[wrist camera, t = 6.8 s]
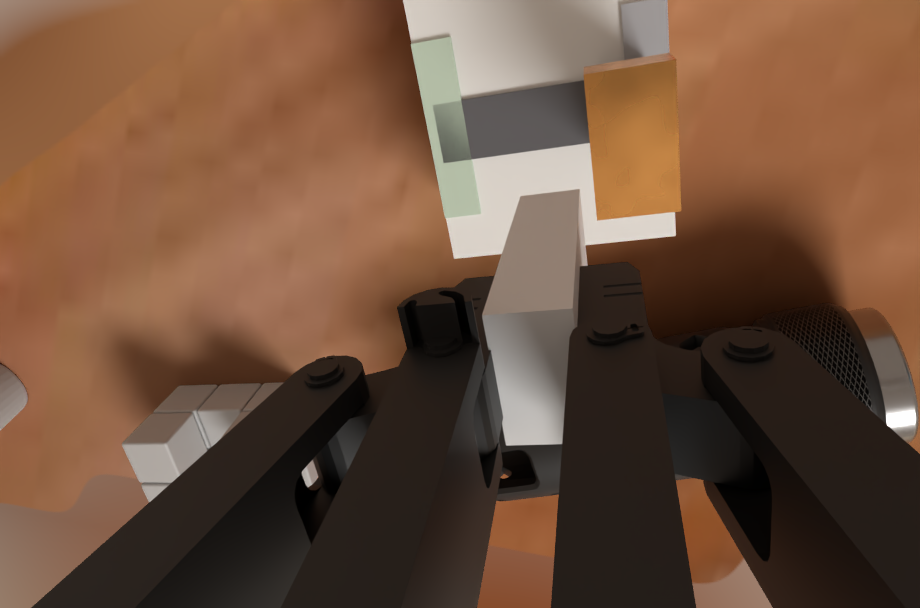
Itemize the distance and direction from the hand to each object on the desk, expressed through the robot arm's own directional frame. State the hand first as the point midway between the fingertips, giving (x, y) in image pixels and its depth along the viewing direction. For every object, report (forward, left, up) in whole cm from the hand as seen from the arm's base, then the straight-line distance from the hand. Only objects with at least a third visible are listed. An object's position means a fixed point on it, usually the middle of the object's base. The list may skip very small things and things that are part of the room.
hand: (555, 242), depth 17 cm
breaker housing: (+1, 0, -25) cm, 25 cm away
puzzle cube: (+30, +25, -26) cm, 47 cm away
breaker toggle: (-3, 0, -17) cm, 17 cm away
